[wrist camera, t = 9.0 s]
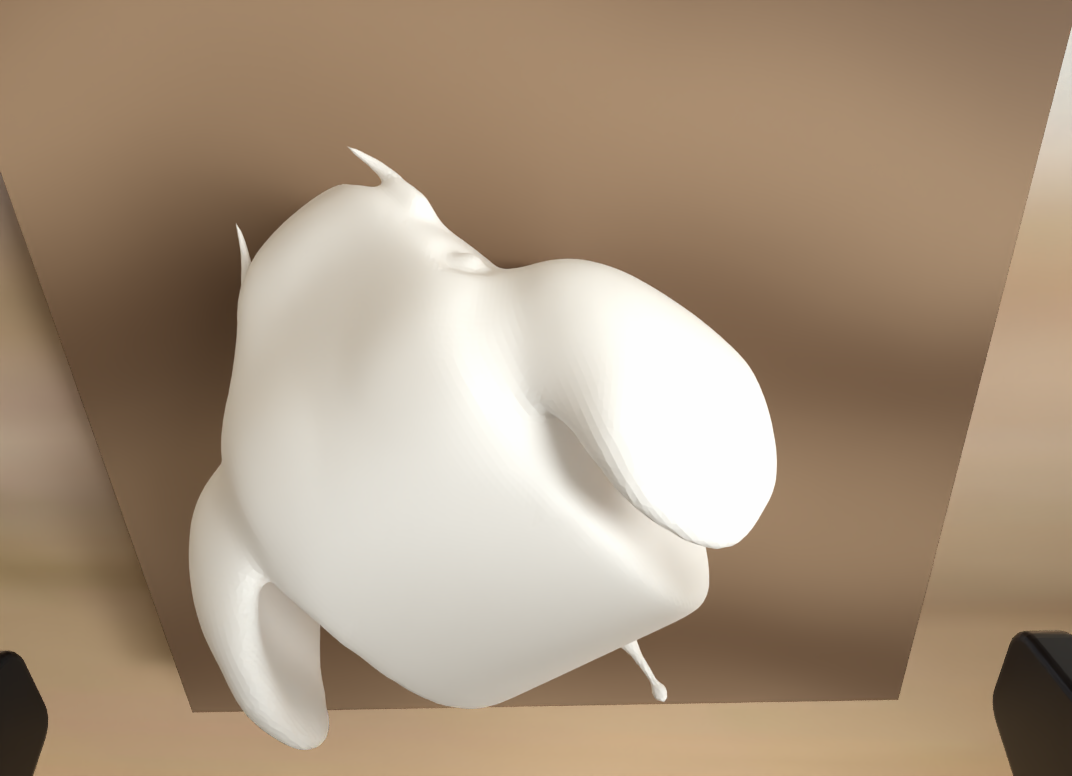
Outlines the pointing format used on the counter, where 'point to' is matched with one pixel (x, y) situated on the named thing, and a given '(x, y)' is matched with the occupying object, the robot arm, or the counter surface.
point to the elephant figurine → (459, 463)
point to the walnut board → (564, 255)
